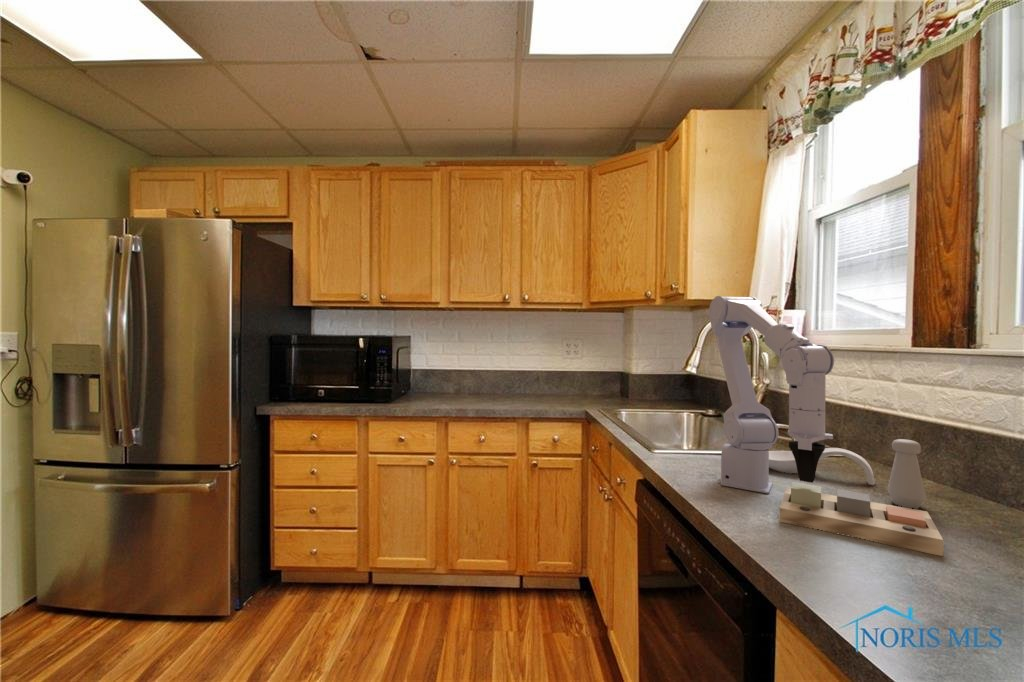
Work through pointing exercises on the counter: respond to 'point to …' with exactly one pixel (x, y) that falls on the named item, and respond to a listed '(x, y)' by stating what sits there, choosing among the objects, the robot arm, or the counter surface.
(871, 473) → the light grey curved piece
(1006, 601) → the counter surface
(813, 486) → the key sage
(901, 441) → the salt shaker
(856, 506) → the key slate
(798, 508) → the tan wooden slotted tray
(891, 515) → the key terracotta
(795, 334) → the robot arm
